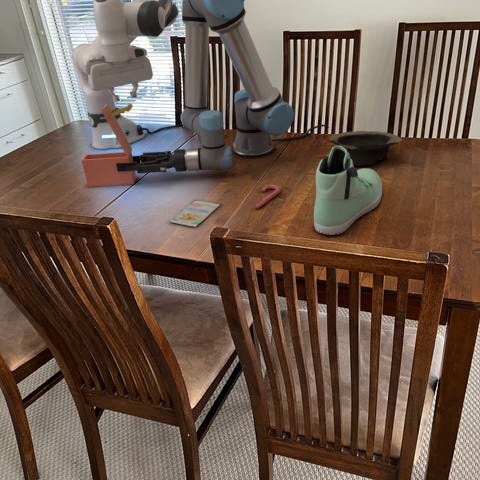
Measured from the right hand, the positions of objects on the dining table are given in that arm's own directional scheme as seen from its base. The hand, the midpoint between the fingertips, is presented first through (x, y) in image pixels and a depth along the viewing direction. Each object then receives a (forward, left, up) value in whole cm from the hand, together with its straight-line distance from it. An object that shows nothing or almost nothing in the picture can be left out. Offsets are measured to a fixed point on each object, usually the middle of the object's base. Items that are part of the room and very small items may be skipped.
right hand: (119, 164), depth 164 cm
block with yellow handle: (-1, +1, +12) cm, 12 cm away
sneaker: (-54, +56, -7) cm, 79 cm away
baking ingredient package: (-14, +36, -7) cm, 39 cm away
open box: (+3, -2, -7) cm, 8 cm away
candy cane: (-37, +38, -7) cm, 53 cm away
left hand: (-6, +3, +22) cm, 23 cm away
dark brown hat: (-81, +27, -7) cm, 85 cm away
